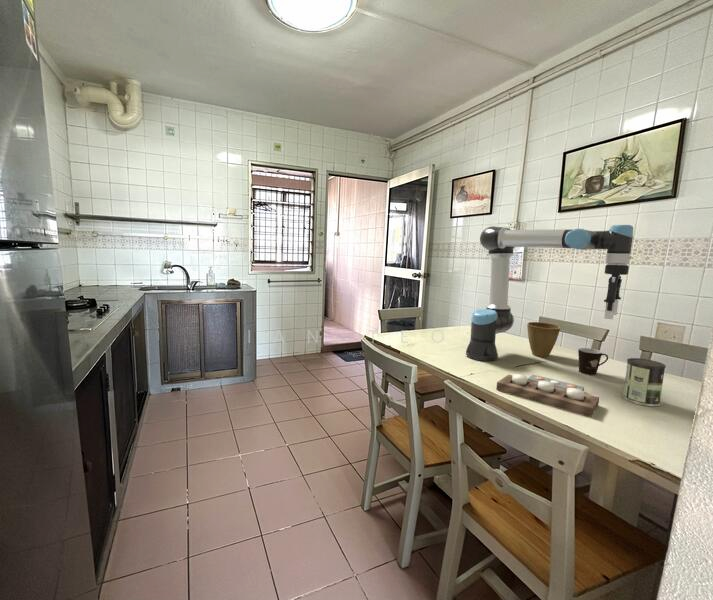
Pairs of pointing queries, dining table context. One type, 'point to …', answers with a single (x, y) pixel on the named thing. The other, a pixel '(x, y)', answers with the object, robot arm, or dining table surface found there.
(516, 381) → the button left
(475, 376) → the dining table surface
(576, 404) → the button board
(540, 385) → the button middle
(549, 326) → the plant pot
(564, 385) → the pattern sign
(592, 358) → the coffee mug
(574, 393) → the button right
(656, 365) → the coffee can
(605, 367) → the dining table surface
